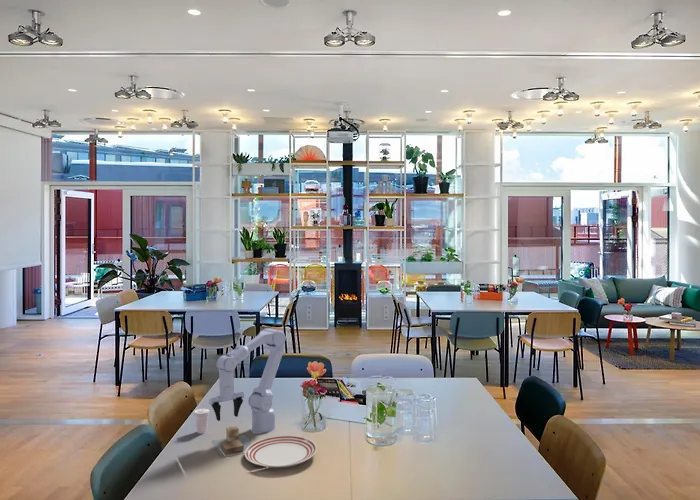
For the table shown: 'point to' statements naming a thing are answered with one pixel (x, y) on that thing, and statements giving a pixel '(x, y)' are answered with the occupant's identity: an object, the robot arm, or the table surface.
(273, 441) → the dinner plate
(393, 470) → the table surface
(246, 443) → the build board
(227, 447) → the walnut slab
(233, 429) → the oak block
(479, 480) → the table surface
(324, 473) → the table surface
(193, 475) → the table surface
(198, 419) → the smoothie
